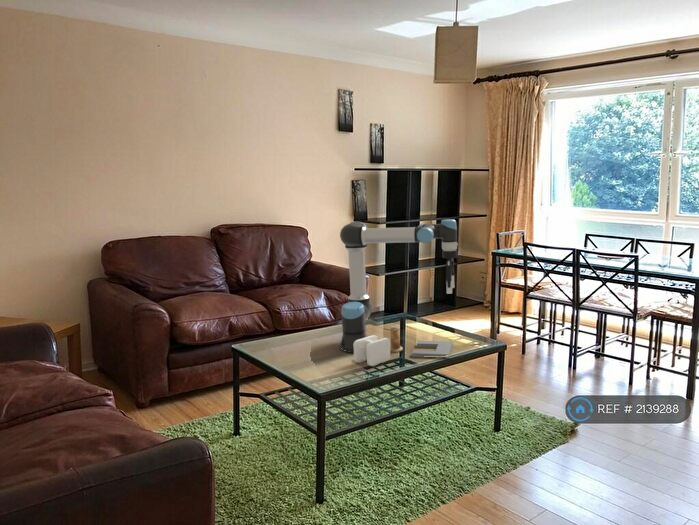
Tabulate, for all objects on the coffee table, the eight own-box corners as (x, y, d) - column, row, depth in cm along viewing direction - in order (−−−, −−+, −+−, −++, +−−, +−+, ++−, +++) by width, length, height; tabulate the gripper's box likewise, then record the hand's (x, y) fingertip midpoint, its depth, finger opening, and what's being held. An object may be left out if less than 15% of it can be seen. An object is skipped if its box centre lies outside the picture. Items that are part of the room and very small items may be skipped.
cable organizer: (368, 368, 270) (367, 344, 268) (353, 363, 278) (352, 340, 276) (391, 360, 280) (390, 337, 278) (376, 355, 288) (375, 333, 286)
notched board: (412, 357, 283) (411, 353, 282) (418, 344, 302) (417, 340, 301) (449, 358, 278) (449, 354, 278) (452, 345, 297) (452, 341, 297)
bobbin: (387, 351, 292) (386, 329, 290) (390, 347, 299) (389, 325, 297) (401, 352, 291) (400, 329, 289) (403, 348, 297) (402, 325, 295)
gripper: (455, 253, 280) (456, 296, 284) (458, 246, 304) (459, 285, 308) (439, 253, 282) (440, 296, 286) (444, 246, 306) (445, 285, 310)
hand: (450, 290), depth 297 cm, fingers open, 13 cm apart
